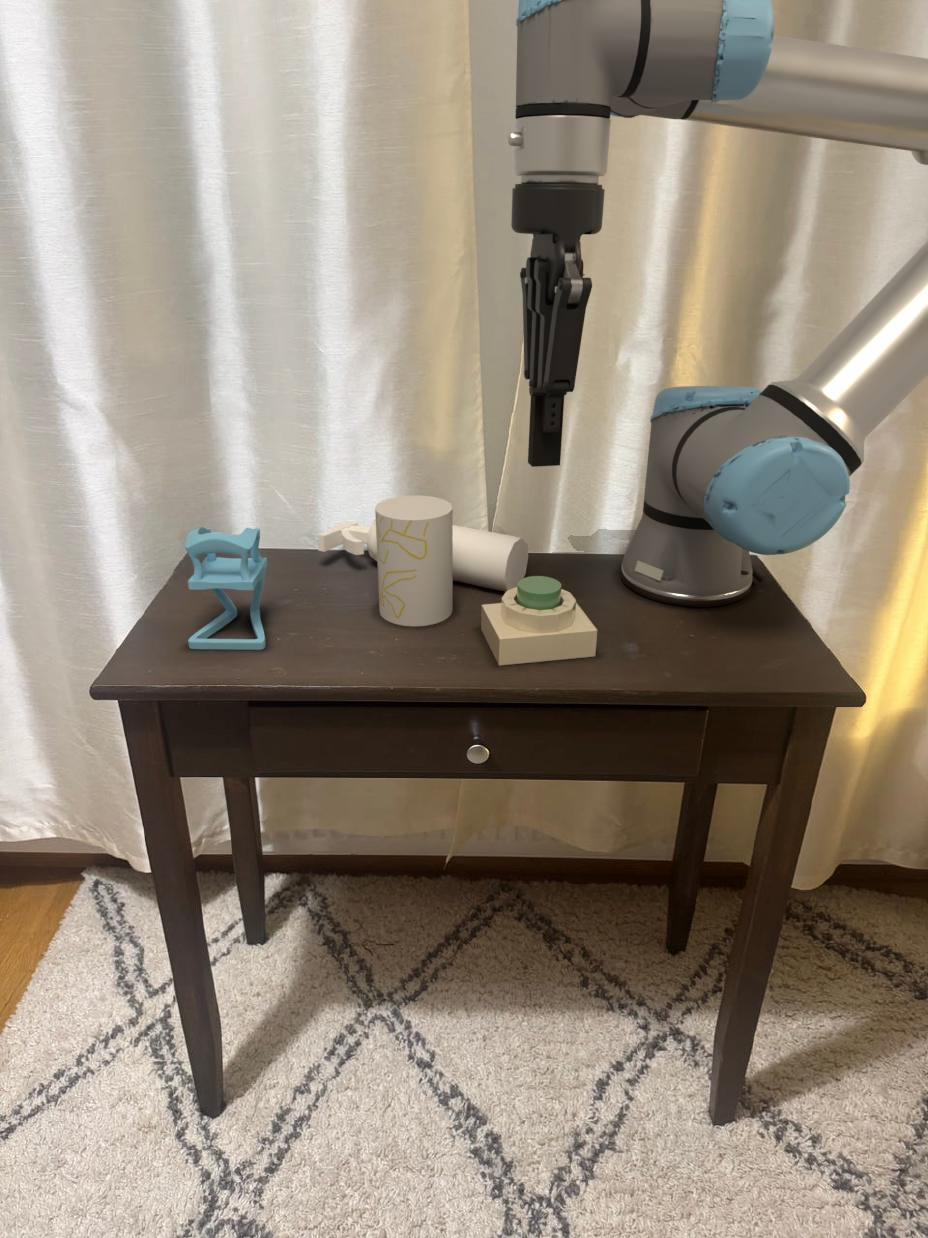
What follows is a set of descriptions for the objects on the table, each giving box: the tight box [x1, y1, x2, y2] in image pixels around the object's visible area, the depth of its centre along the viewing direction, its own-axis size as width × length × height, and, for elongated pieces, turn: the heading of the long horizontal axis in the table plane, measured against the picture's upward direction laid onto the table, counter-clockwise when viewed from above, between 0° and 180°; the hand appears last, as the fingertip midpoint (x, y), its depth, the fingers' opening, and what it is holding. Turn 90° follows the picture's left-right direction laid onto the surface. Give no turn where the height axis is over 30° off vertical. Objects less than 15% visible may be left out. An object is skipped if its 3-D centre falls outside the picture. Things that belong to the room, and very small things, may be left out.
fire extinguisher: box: [317, 518, 529, 593], centre depth 104 cm, size 7×12×25 cm
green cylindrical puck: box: [517, 575, 562, 610], centre depth 86 cm, size 4×4×2 cm
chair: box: [184, 526, 268, 651], centre depth 87 cm, size 8×8×12 cm
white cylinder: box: [374, 494, 454, 627], centre depth 92 cm, size 8×8×12 cm
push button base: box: [480, 587, 598, 667], centre depth 87 cm, size 10×8×5 cm
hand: (543, 463), depth 80 cm, fingers closed
